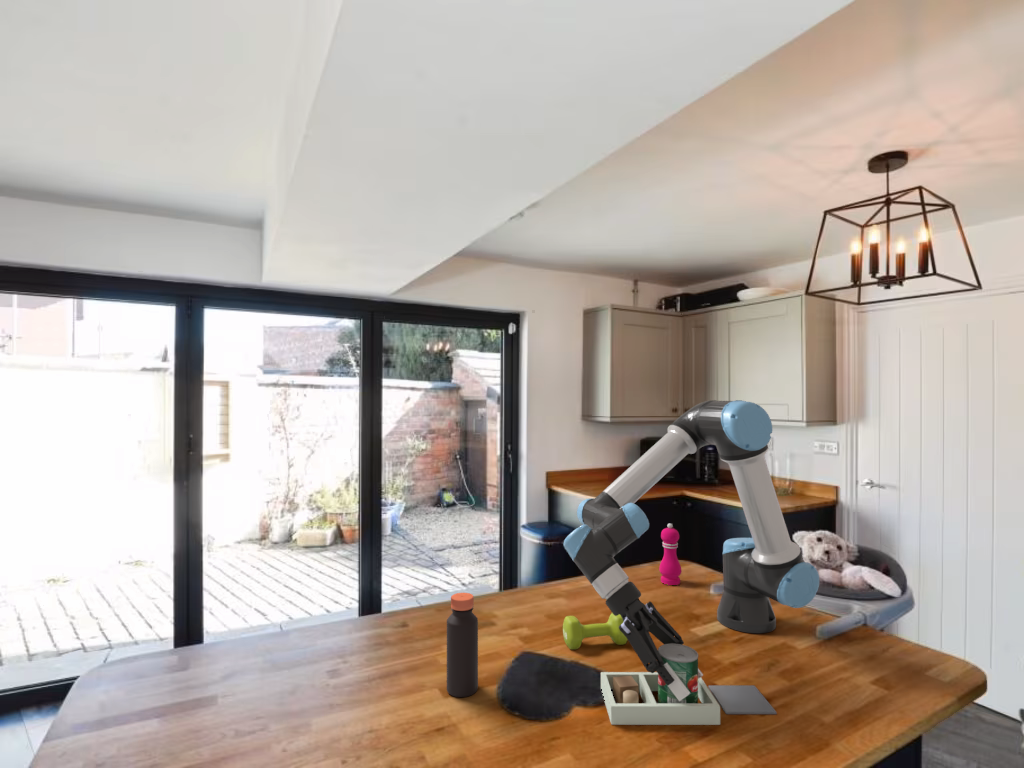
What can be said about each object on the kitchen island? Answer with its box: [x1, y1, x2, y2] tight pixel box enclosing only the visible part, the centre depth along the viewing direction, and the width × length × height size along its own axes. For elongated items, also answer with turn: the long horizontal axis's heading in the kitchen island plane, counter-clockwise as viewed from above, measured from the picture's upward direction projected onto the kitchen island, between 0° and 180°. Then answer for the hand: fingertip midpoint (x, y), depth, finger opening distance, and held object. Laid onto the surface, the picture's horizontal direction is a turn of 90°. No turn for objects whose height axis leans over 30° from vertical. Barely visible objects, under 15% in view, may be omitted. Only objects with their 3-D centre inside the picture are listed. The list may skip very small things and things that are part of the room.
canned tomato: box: [657, 644, 699, 703], centre depth 112 cm, size 8×8×11 cm
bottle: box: [446, 592, 479, 698], centre depth 118 cm, size 7×7×20 cm
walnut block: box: [612, 676, 640, 703], centre depth 114 cm, size 4×4×4 cm
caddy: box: [600, 671, 721, 726], centre depth 112 cm, size 21×13×4 cm, turn 90°
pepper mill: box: [658, 523, 682, 586], centre depth 185 cm, size 7×7×20 cm
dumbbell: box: [562, 612, 628, 651], centre depth 140 cm, size 16×8×7 cm, turn 101°
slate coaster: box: [707, 684, 778, 715], centre depth 114 cm, size 10×10×1 cm
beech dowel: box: [623, 690, 638, 703], centre depth 109 cm, size 3×3×4 cm
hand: (691, 687), depth 110 cm, fingers closed on canned tomato, 8 cm apart
